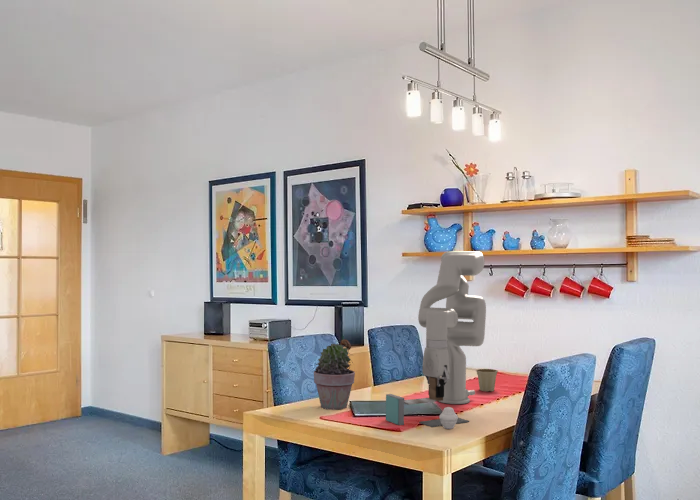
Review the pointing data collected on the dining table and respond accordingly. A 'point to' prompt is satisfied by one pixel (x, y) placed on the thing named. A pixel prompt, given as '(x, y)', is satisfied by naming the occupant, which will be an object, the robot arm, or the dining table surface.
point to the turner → (431, 394)
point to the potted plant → (334, 376)
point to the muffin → (448, 418)
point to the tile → (395, 409)
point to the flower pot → (486, 379)
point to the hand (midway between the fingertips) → (436, 395)
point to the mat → (438, 423)
